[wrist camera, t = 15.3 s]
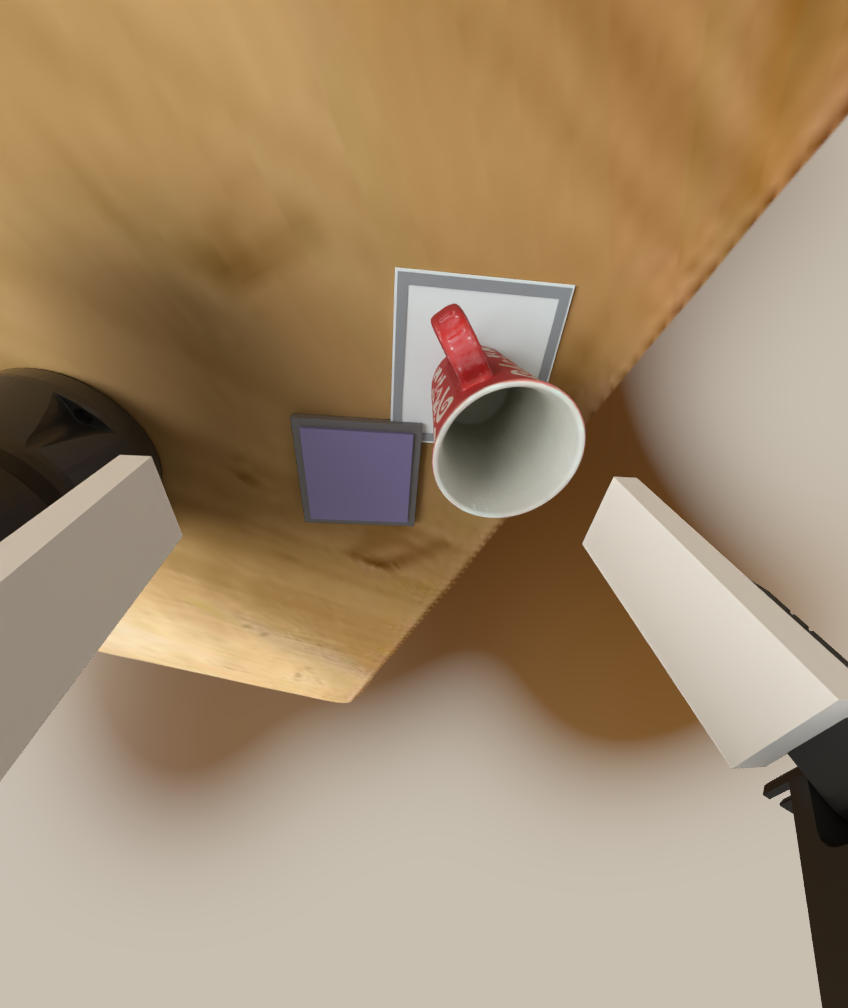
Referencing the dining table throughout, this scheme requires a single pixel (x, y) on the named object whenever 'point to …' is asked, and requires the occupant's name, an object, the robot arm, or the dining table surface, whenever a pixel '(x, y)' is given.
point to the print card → (493, 316)
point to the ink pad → (357, 469)
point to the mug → (497, 427)
